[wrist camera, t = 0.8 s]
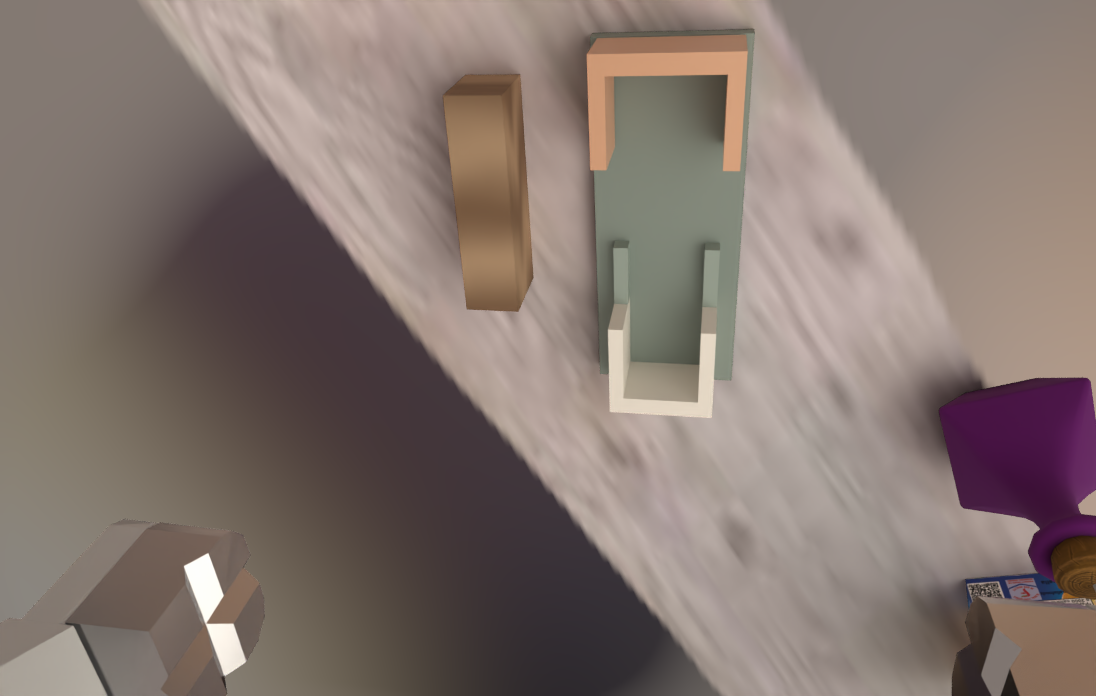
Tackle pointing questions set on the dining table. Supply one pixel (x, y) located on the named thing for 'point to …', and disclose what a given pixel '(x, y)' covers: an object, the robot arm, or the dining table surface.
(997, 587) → the beverage box
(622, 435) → the dining table surface
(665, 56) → the cap
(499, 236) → the brown rectangular block
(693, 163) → the grey slotted holder
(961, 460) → the perfume bottle
